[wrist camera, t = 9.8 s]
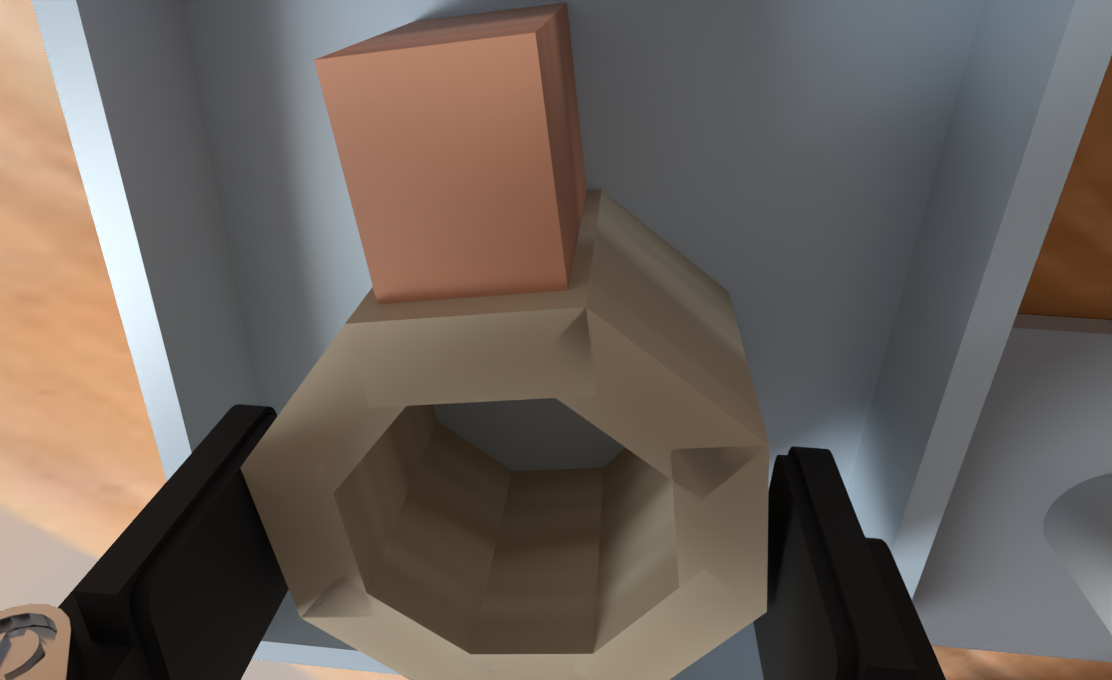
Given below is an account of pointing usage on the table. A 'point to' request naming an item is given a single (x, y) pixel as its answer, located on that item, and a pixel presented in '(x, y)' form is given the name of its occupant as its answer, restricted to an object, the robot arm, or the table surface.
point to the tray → (635, 183)
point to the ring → (511, 388)
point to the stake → (1032, 504)
